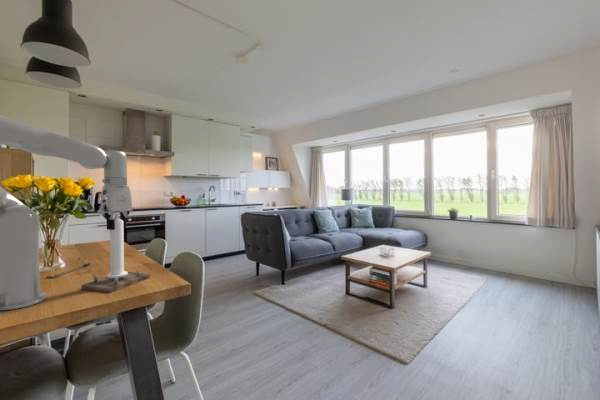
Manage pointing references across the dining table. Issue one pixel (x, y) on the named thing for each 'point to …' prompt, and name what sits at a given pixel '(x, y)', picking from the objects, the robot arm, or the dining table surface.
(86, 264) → the tactical tomahawk
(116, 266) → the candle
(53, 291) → the dining table surface
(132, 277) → the peg stand
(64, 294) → the dining table surface
